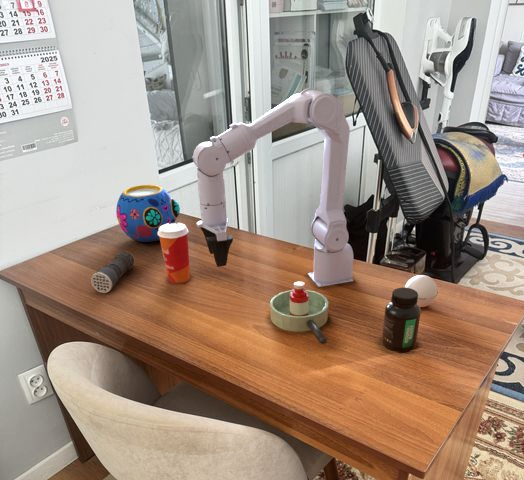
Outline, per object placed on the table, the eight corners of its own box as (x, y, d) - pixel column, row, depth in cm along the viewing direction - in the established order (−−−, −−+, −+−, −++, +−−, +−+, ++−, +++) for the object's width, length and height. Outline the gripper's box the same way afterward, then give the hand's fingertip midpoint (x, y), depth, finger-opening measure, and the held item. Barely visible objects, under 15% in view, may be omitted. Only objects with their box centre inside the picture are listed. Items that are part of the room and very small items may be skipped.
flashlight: (119, 266, 143) (115, 248, 140) (137, 267, 142) (134, 249, 139) (93, 292, 131) (88, 272, 128) (113, 293, 130) (108, 273, 127)
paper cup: (165, 273, 139) (158, 222, 131) (194, 271, 139) (188, 220, 131) (163, 286, 132) (155, 234, 124) (193, 284, 133) (187, 232, 125)
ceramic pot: (152, 254, 150) (144, 203, 141) (109, 243, 158) (99, 194, 149) (191, 234, 161) (185, 186, 153) (149, 225, 170) (142, 178, 161)
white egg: (395, 305, 120) (399, 276, 116) (414, 294, 124) (418, 266, 120) (433, 321, 114) (438, 291, 110) (451, 309, 118) (457, 280, 114)
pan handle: (305, 325, 110) (305, 319, 110) (312, 324, 111) (312, 317, 110) (320, 346, 104) (320, 339, 103) (328, 345, 104) (328, 338, 103)
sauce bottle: (304, 310, 118) (305, 278, 114) (311, 319, 115) (311, 286, 110) (287, 313, 118) (287, 281, 113) (293, 322, 114) (293, 289, 110)
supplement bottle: (414, 356, 103) (423, 303, 96) (379, 351, 104) (385, 299, 98) (416, 338, 108) (424, 286, 102) (382, 334, 110) (388, 283, 103)
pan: (315, 300, 123) (315, 285, 121) (336, 327, 113) (337, 311, 111) (263, 310, 120) (263, 294, 118) (281, 337, 110) (280, 321, 108)
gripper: (188, 194, 118) (195, 250, 125) (200, 214, 106) (207, 274, 114) (219, 190, 119) (223, 245, 127) (234, 210, 108) (238, 269, 115)
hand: (217, 259), depth 121 cm, fingers open, 7 cm apart
